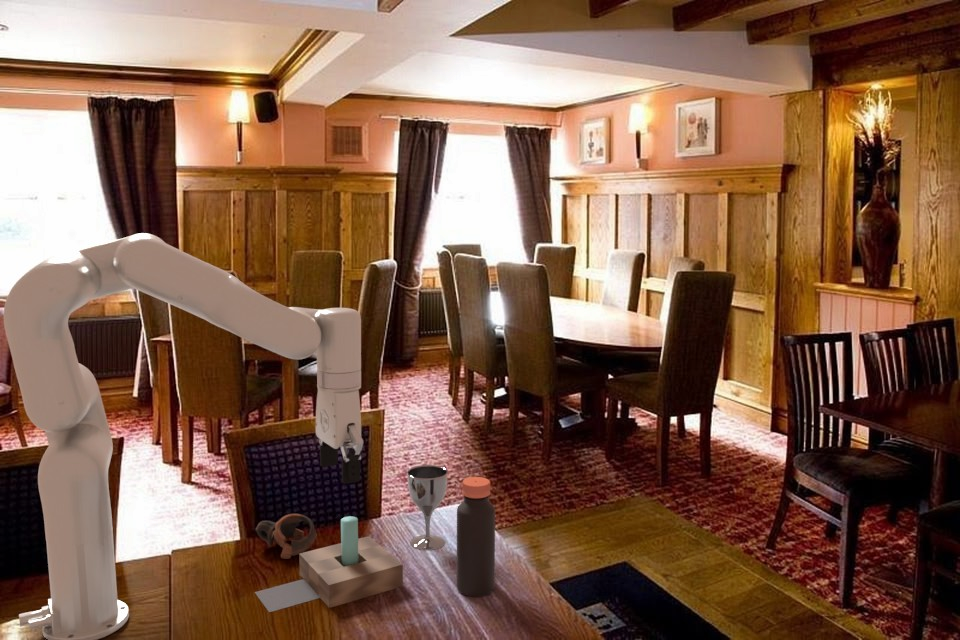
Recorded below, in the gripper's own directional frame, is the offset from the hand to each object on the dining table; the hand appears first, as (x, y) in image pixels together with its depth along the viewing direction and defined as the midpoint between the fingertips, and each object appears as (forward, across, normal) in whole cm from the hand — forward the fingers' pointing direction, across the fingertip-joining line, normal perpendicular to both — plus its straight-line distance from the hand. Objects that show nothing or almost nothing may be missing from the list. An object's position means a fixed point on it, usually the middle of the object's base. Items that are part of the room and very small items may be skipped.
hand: (339, 473), depth 138 cm
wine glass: (+21, -6, +22) cm, 31 cm away
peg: (+21, +1, +2) cm, 21 cm away
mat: (+21, 0, -9) cm, 23 cm away
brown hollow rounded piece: (+21, -18, -4) cm, 28 cm away
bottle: (+21, +15, +20) cm, 32 cm away
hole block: (+21, +1, +2) cm, 21 cm away
